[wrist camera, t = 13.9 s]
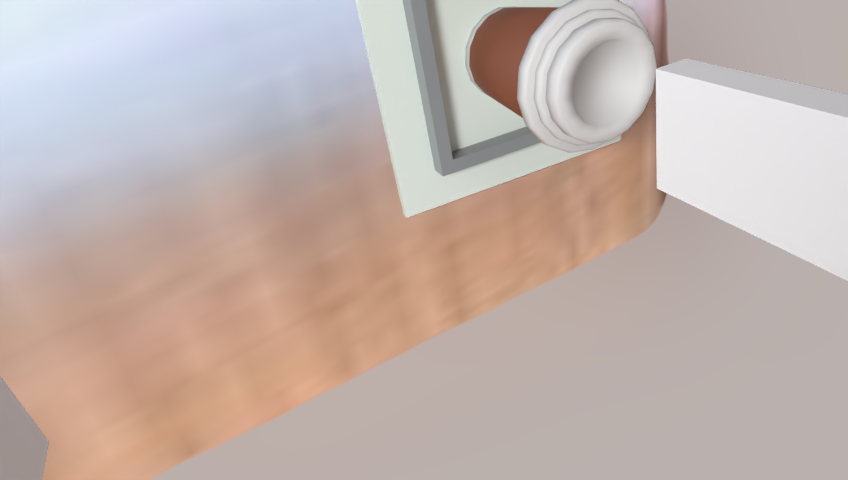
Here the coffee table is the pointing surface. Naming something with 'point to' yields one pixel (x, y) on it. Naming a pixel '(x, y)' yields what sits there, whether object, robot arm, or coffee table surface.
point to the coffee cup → (566, 69)
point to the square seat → (444, 103)
